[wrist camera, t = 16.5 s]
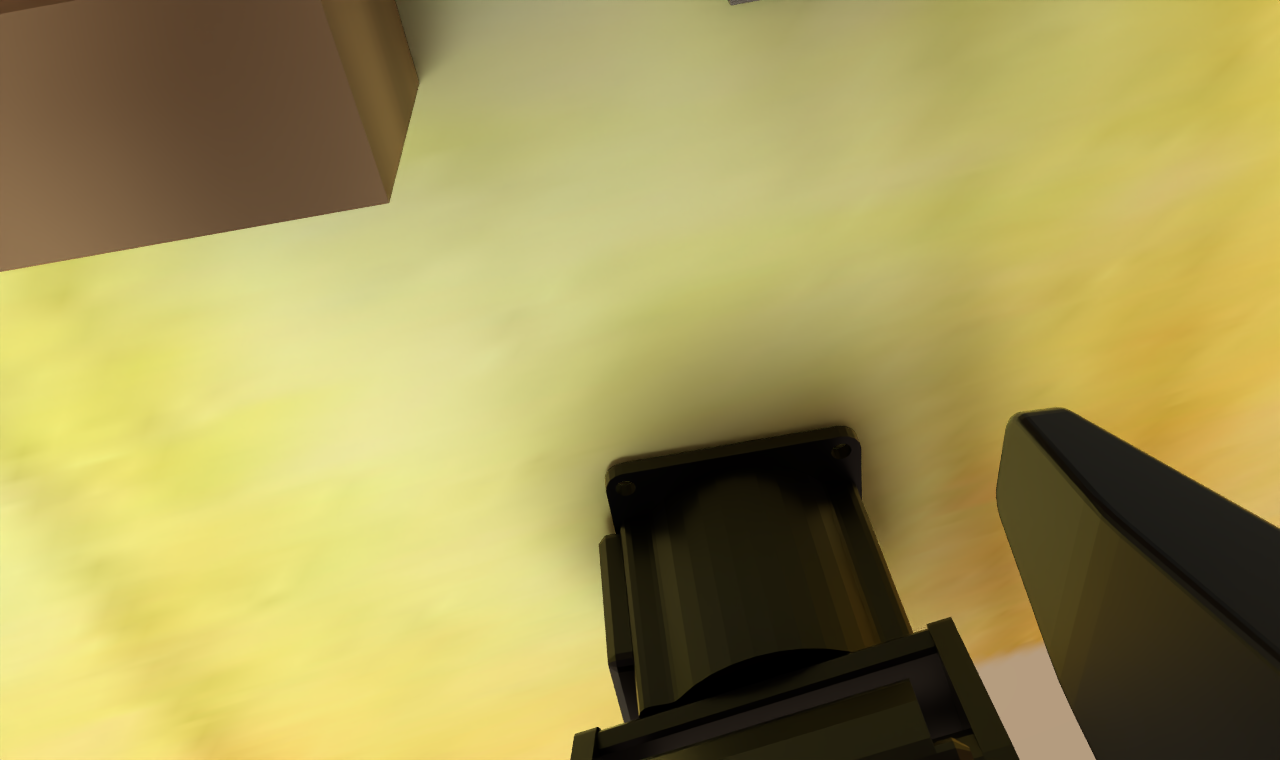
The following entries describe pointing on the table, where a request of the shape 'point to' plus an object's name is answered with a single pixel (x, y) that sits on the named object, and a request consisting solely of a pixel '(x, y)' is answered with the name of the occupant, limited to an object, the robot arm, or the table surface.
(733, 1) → the lid mat
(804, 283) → the table surface
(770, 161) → the table surface
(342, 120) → the toolbox
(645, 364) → the table surface
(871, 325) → the table surface
